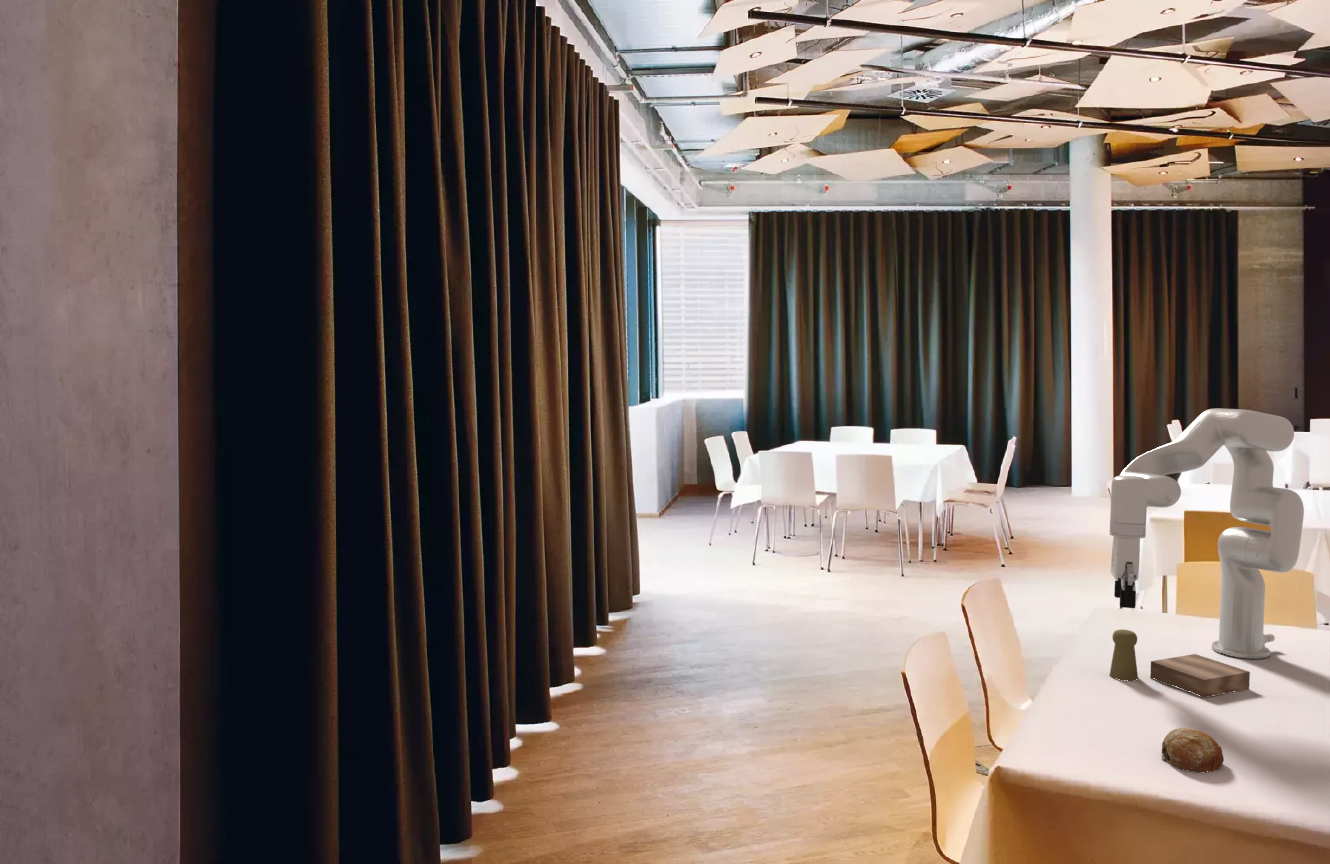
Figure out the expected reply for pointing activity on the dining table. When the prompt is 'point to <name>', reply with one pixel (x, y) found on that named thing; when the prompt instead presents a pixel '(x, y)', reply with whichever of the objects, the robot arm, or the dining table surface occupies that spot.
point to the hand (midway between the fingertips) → (1124, 602)
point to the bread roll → (1192, 750)
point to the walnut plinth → (1200, 675)
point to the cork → (1124, 656)
